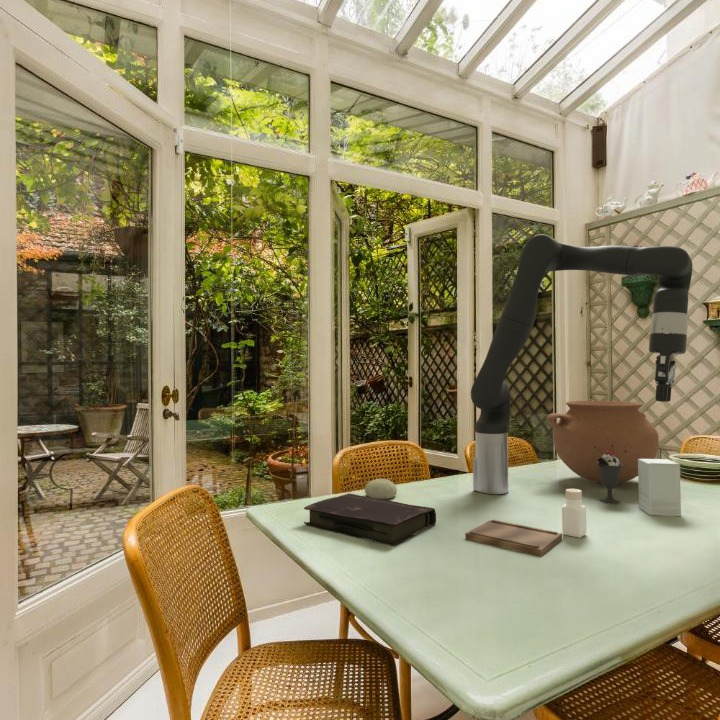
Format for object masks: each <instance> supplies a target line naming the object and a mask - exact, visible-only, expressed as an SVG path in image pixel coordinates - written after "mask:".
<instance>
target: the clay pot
mask: <svg viewBox="0 0 720 720" xmlns="http://www.w3.org/2000/svg"><path fill="white" fill-rule="evenodd" d="M565 405H566V406H568V407H569V409H568V410H567V411H566V412H565V413H564V414H563V413H557V412H556V413H555V412H554V413H553V412H552V413H549V414H548V415H547V417H546V421H547V423H548V424H549V425H550V426H551V428H552V441H553V445H554V446H553V447H554V449H555V452H556V454H557V456H558V457H559V458H560V460H561V461H562V462H563V464H564V465H566V467H567V468H569V470H571V472H573V473H575V474H576V475H577V476H579V477H581V478H583V479H585V480H588V481H591V482H594V483H597V484H602V482H601V478H600V471H599V466H598V465H597V464H596V463H597V462H598V461H597V459H599V458H601V457H602V455H603V454H605V453H606V451H609V450H610V449H611V450H610V451H609V452H610V453H613V451H614V454H615V455H616V456H615V457H616V458H617V459H618V460H619V463H622V464H623V466H622V467H621V468H620V474H619V481H618V484H620V483H621V484H622V483H625V482H628V481H631V480H634V479H635V478H638V459H657V455H658V451H659V444H660V442H659V432H658V431H657V428H656V427H655V426H654V425H653V423H651V422H650V421H649V420H648V419H647V418H646V417H647V416H646V415H645V413H644V412H642V411H640V409H641V407H642V406H643V403H642V402H635V401H634V402H633V401H622V400H621V401H619V400H617V401H616V400H572V401H566V402H565ZM557 419H558V421H557V422H556V420H557ZM611 445H614V446H613V448H611ZM602 485H603V484H602Z"/></svg>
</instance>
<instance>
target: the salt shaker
mask: <svg viewBox="0 0 720 720" xmlns="http://www.w3.org/2000/svg"><path fill="white" fill-rule="evenodd" d="M565 500H566V503H564V504H563V505H562V506H561V522H562V523H561V525H562V527H561V529H562V530H561V531H562V535H566V536H569V537H573V538H577V537H578V539H579V538H582V537H584V536H585V535H586V534H587V507H586V506H585V505H583V503H582V502H583V491H582V490H581V489H578V488H566V489H565Z"/></svg>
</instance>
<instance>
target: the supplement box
mask: <svg viewBox="0 0 720 720" xmlns="http://www.w3.org/2000/svg"><path fill="white" fill-rule="evenodd" d="M680 465H681V464H680V463H678V462H675V461H672V460H671V459H668V458H664V459H663V458H655V459H638V476H637V478H638V480H637V481H638V484H637V485H638V508H639V509H641V510H642V511H644V512H645V513H646V514H647V515H651V516H663V517H664V516H665V517H666V516H667V517H682V499H681V498H682V497H681V496H682V492H681V466H680Z"/></svg>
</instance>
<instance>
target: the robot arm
mask: <svg viewBox="0 0 720 720" xmlns="http://www.w3.org/2000/svg"><path fill="white" fill-rule="evenodd" d="M557 271H559V272H561V271H586V272H587V271H588V272H589V271H590V272H597V273H604V274H612V275H614V274H615V275H622V276H623V275H624V276H641V275H642V274H644V275H656V276H658V284H657V291H656V293H655V294H654V298H653V307H652V317H651V320H650V332H649V342H648V352H649V353H652V354H659V355H656V360H655V363H654V365H655V370H654V381H655V385H656V388H655V401H656V402H662V403H663V402H665V403H666V402H671V400H672V399H671V398H672V389H673V388H672V387H673V385H674V383H675V380H674V379H675V378H676V369H677V361H675V360H676V359H674V355H684V354H686V351H687V340H688V326H689V322H688V312H689V311H688V308H689V291H690V287H691V283H692V282H691V281H692V275H693V261H692V258H691V257H690V255H689V253H688V252H687V250H685V249H683V248H682V247H679V246H673V245H660V246H659V245H658V246H657V245H656V246H646V247H642V246H641V247H640V246H630V245H629V246H628V245H600V246H575V245H570V244H566V243H562V242H559V241H558V240H557V239H555V238H553V237H551V236H550V235H547V234H543V233H540V234H536V235H534V236H532V237H531V238H529V239H528V240H527V242H526V243H525V244H524V246H523V249H522V252H521V256H520V259H519V263H518V266H517V271H516V275H515V277H514V281H513V284H512V287H511V290H510V292H509V294H508V296H507V299H506V303H505V305H504V308H503V310H502V313H501V315H500V318H499V320H498V323H497V325H496V328H495V330H494V331H495V332H494V334H493V337H492V340H491V342H490V345H489V347H488V348H489V349H488V351H487V353H486V357H485V359H484V361H483V363H482V365H481V368H480V369H479V371H478V373H477V376H476V378H475V379H474V381H473V384H472V386H471V388H470V389H471V390H470V399H471V401H472V404H473V406H475V407H476V408H478V409H479V410H480V414H479V418H478V419H477V420H476V422H475V425H474V426H475V427H474V428H475V429H474V430H475V431H474V432H475V433H474V434H475V436H474V437H475V456H474V457H473V458H472V478H473V479H472V480H473V481H472V482H473V483H472V485H473V487H472V489H473V491H477V492H479V493H481V494H488V495H503V494H506V493H509V491H510V489H509V445H508V444H509V442H508V441H509V437H508V436H509V435H508V432H509V430H508V428H509V424H510V420H511V391H510V390H511V389H510V388H509V385H508V384H507V382H506V381H505V377H506V376H507V373H508V370H509V368H510V366H511V364H512V363H513V362H514V360H515V359H516V357H518V356H519V354H520V352H521V351H522V349H523V348H524V347H525V345H526V343H527V341H528V339H529V337H530V336H531V335H530V334H531V333H532V330H533V327H534V324H535V321H536V318H537V309H538V308H537V307H538V297H539V296H538V295H539V291H540V290H539V289H540V287H541V284H542V281H543V278H544V277H545V274H546V272H557Z"/></svg>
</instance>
